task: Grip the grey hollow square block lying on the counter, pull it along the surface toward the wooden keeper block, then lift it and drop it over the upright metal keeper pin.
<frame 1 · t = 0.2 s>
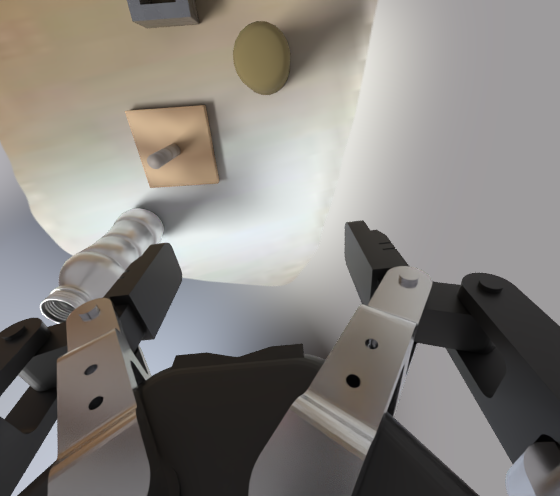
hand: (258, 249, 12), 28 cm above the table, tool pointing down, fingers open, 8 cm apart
keeper: (177, 148, 36), on the table
plastic bottle: (147, 221, 42), on the table
cork: (265, 66, 32), on the table
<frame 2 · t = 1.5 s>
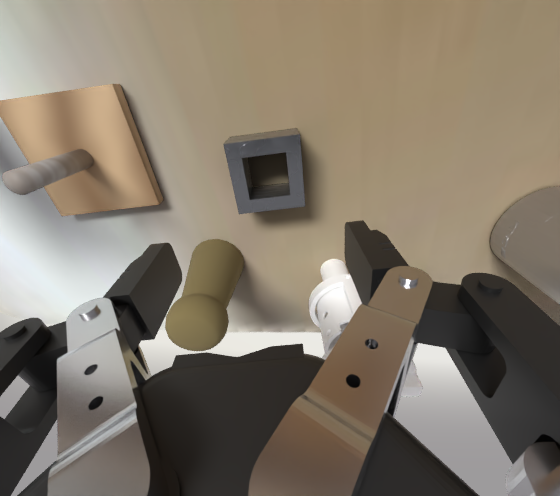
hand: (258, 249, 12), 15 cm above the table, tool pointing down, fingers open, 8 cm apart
strainer: (332, 268, 31), on the table
keeper: (91, 155, 24), on the table
cork: (218, 260, 31), on the table
grey hollow square block: (268, 166, 25), on the table
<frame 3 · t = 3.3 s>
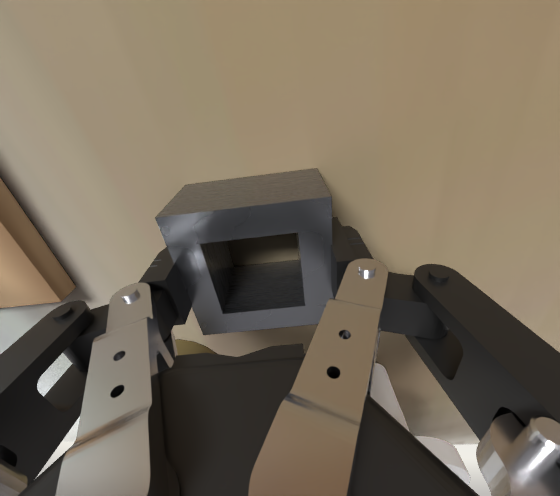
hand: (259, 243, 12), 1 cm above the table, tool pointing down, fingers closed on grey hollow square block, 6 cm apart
strainer: (364, 372, 20), on the table
cork: (183, 364, 19), on the table
grey hollow square block: (260, 234, 13), on the table, touching gripper
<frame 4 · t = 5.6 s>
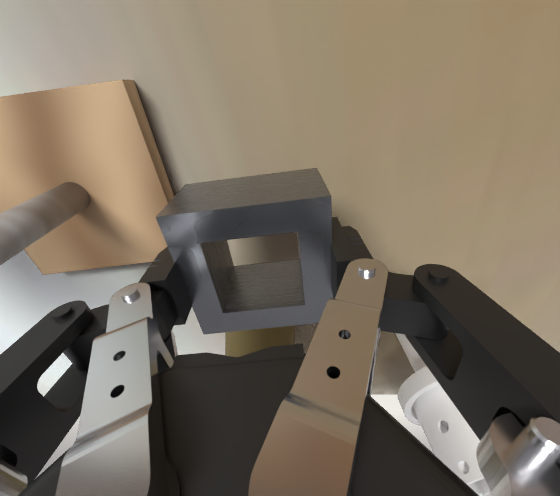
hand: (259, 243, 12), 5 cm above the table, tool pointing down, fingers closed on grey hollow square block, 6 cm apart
strainer: (410, 325, 24), on the table
keeper: (87, 188, 16), on the table
cork: (261, 319, 23), on the table
grey hollow square block: (260, 234, 13), point 4 cm above the table, touching gripper
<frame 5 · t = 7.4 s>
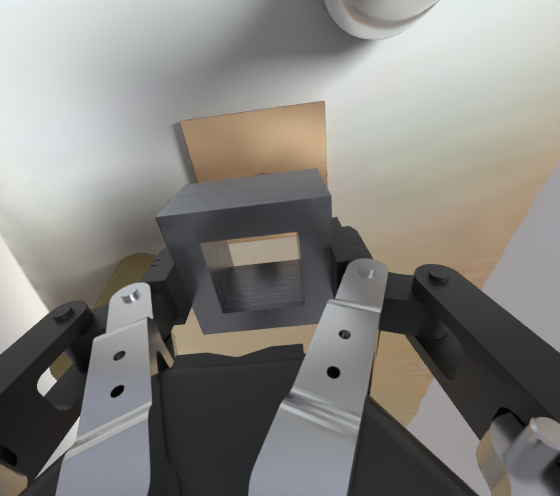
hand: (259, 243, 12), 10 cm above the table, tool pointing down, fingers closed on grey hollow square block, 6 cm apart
keeper: (263, 178, 21), on the table
cork: (150, 277, 27), on the table
grey hollow square block: (260, 234, 13), point 9 cm above the table, touching gripper
when the fingers open (7 cm above the table, at t = 8.4 s): grey hollow square block drops 5 cm, resting on keeper.
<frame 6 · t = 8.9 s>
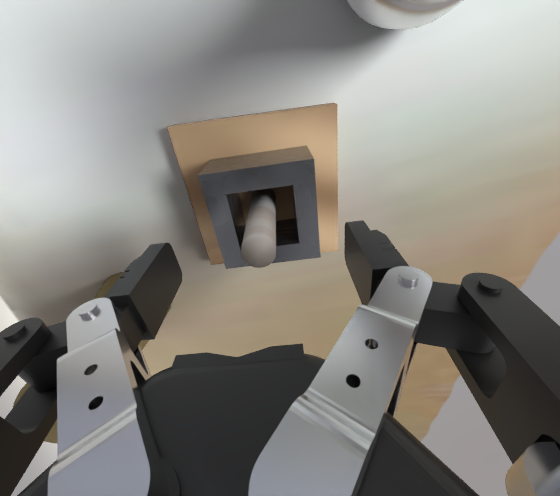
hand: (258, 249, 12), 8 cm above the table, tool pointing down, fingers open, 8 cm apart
keeper: (264, 191, 19), on the table
cork: (138, 296, 24), on the table
grey hollow square block: (266, 197, 18), point 1 cm above the table, touching keeper
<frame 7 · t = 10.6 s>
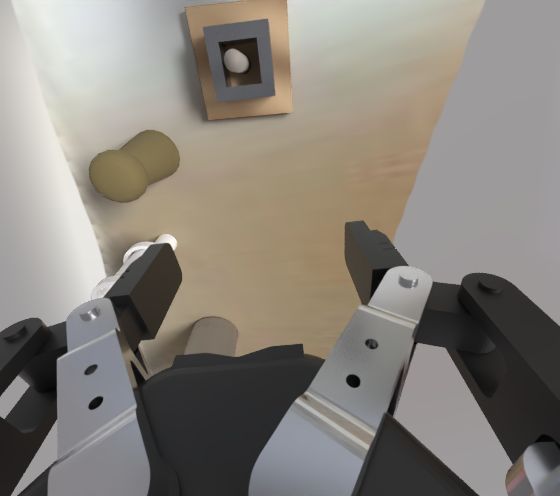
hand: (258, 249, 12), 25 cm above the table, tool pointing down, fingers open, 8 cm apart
strainer: (167, 241, 42), on the table
keeper: (244, 65, 29), on the table
cork: (156, 154, 34), on the table
grey hollow square block: (245, 65, 28), point 1 cm above the table, touching keeper
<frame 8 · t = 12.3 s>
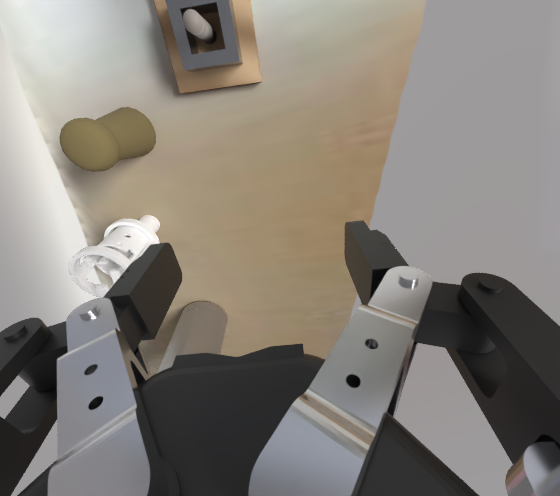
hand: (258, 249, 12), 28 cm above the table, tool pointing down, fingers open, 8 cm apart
strainer: (150, 223, 42), on the table
keeper: (211, 36, 30), on the table
cork: (133, 132, 35), on the table
grey hollow square block: (210, 35, 29), point 1 cm above the table, touching keeper
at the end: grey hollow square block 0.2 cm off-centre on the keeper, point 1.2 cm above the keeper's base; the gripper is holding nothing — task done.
